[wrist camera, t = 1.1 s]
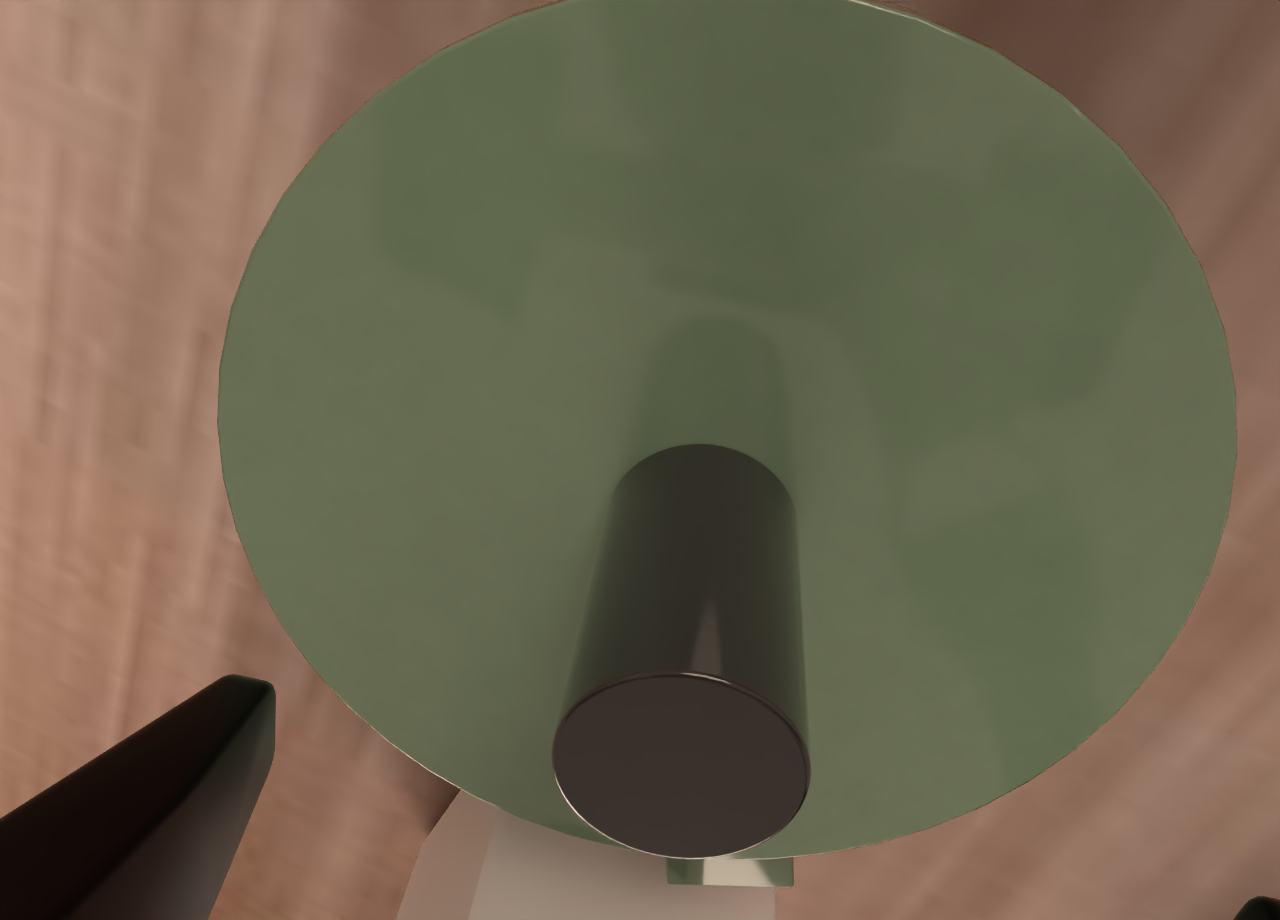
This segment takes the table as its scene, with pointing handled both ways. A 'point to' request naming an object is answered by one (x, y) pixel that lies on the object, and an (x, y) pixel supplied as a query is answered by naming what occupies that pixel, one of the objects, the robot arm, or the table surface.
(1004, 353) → the lid
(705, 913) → the medicine bottle
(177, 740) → the robot arm
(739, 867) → the cooking pot
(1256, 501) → the table surface
